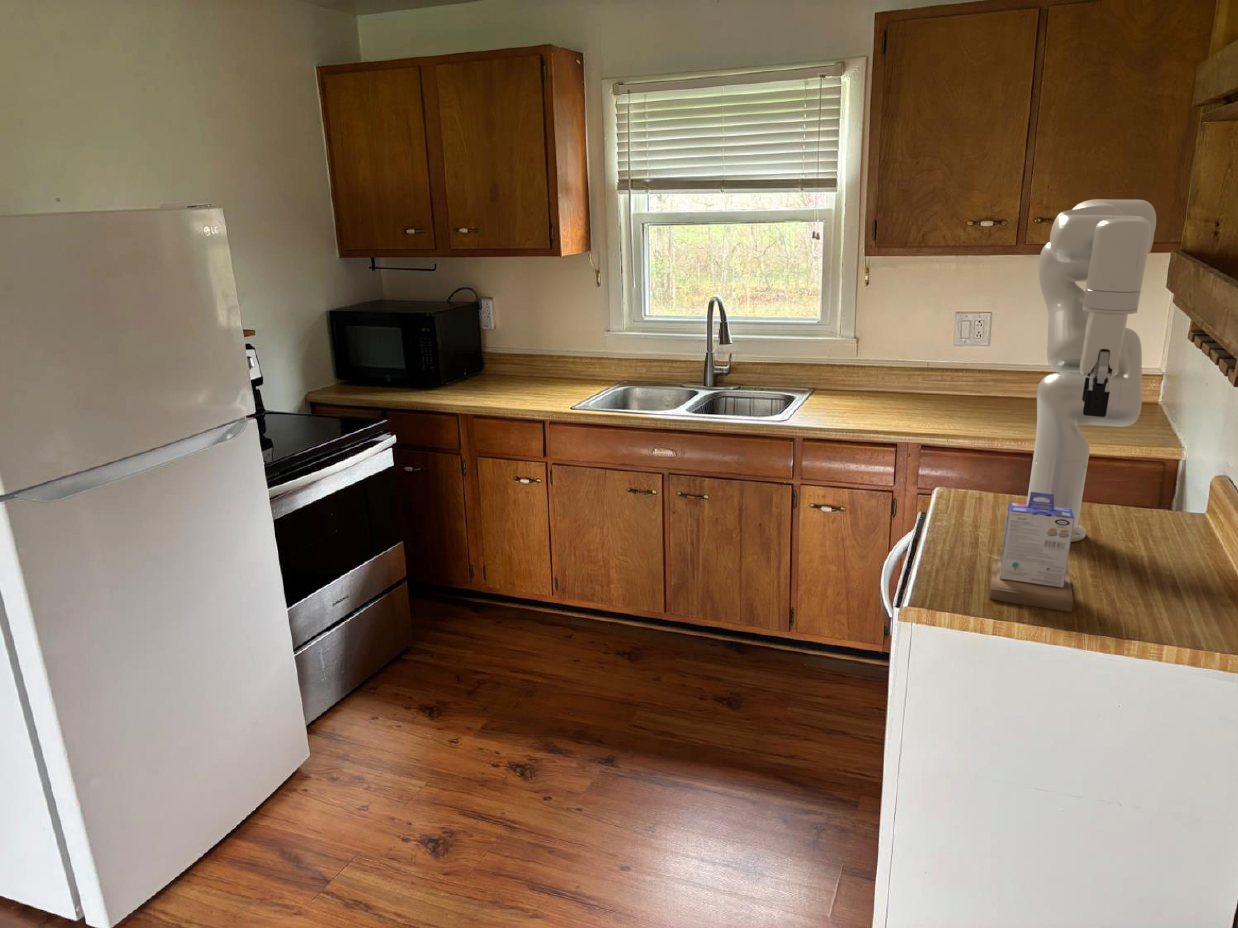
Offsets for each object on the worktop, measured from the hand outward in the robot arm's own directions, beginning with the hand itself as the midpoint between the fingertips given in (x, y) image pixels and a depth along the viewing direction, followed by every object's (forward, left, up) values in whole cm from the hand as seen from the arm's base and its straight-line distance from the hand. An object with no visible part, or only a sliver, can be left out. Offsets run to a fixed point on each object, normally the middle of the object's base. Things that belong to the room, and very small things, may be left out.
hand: (1093, 408), depth 143 cm
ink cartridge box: (+5, -6, -29) cm, 30 cm away
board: (+5, -6, -30) cm, 31 cm away
